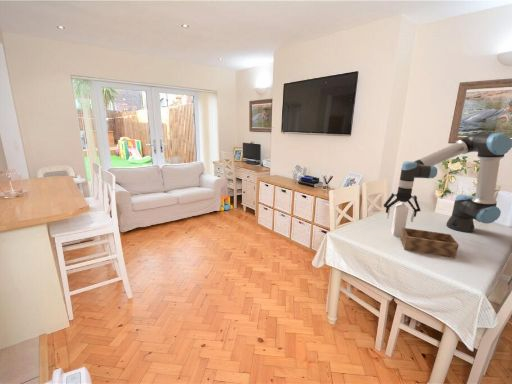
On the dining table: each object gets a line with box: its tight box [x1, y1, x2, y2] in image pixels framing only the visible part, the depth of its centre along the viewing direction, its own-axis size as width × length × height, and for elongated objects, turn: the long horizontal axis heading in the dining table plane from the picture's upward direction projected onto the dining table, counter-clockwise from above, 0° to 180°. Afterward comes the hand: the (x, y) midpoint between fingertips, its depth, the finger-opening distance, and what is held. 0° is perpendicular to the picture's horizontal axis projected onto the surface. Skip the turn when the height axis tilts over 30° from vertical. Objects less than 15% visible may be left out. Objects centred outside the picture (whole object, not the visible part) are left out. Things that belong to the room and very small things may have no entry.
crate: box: [400, 227, 460, 259], centre depth 144 cm, size 24×14×8 cm, turn 68°
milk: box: [390, 202, 409, 237], centre depth 160 cm, size 6×6×22 cm
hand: (399, 219), depth 161 cm, fingers open, 13 cm apart
